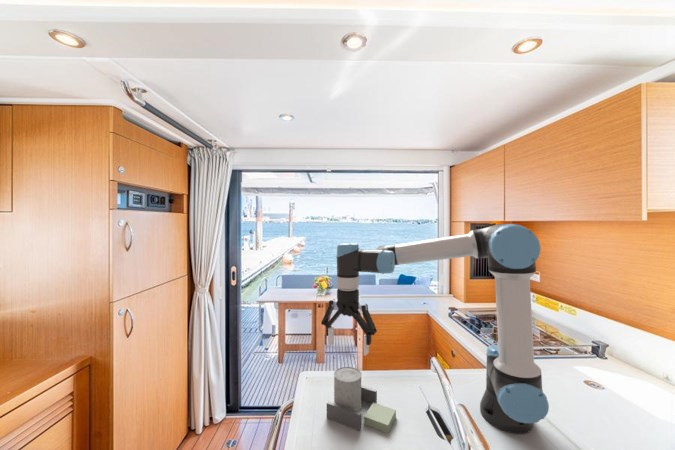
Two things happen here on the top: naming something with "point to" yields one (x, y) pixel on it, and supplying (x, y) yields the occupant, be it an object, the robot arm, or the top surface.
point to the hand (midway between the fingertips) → (348, 349)
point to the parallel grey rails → (349, 415)
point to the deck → (380, 417)
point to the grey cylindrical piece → (348, 388)
